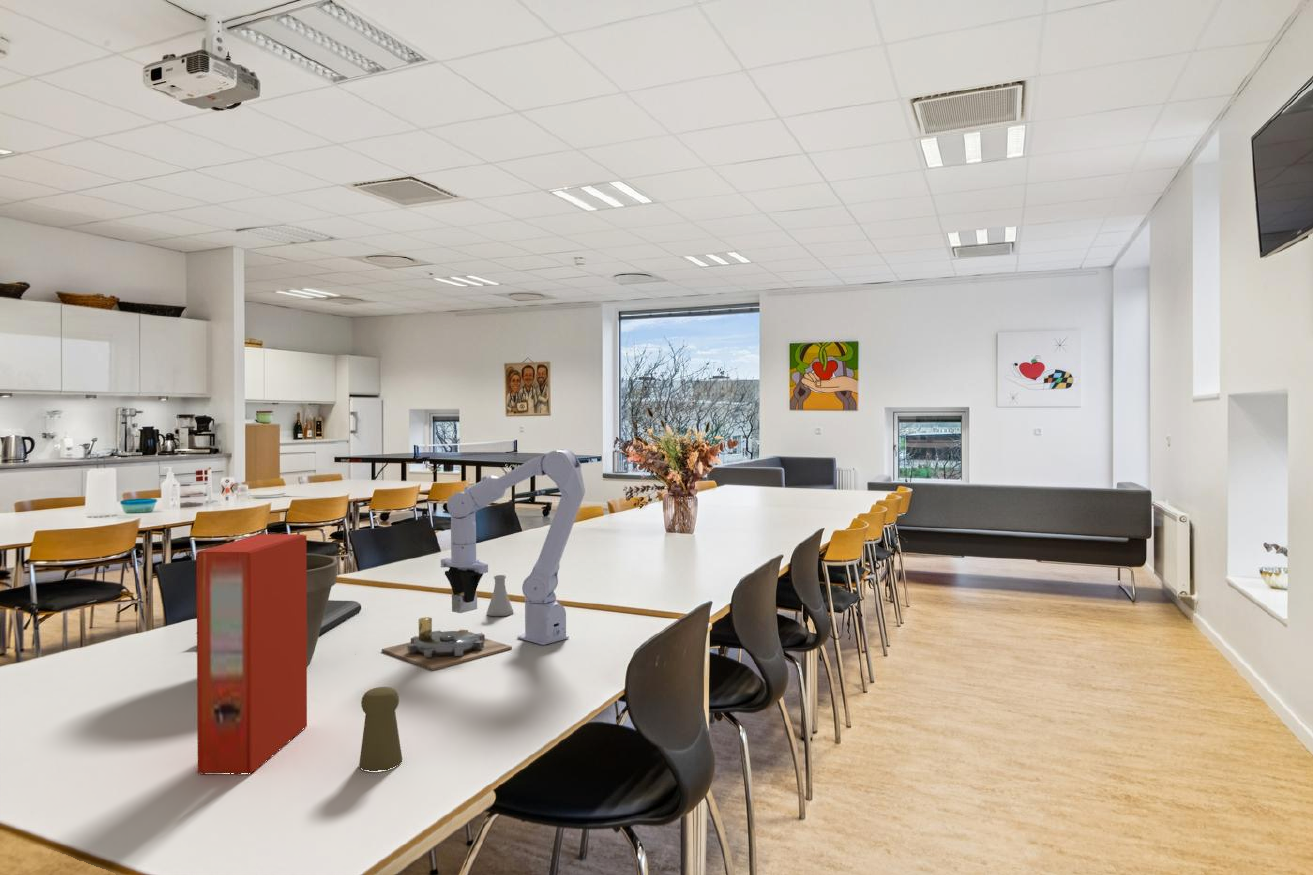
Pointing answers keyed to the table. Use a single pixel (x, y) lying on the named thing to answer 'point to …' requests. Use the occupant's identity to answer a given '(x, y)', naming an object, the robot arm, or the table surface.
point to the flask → (499, 599)
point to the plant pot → (318, 595)
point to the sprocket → (444, 641)
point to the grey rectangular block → (463, 603)
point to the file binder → (250, 650)
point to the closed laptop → (338, 613)
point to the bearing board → (444, 661)
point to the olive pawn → (380, 730)
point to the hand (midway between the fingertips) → (464, 600)
